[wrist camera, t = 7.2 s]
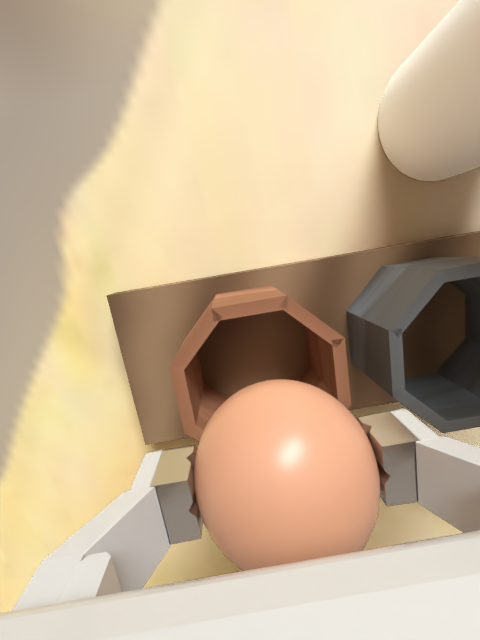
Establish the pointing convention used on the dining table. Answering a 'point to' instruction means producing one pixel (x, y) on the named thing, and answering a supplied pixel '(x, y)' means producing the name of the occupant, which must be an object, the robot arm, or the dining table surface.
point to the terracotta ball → (285, 476)
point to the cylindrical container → (436, 101)
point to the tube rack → (311, 335)
